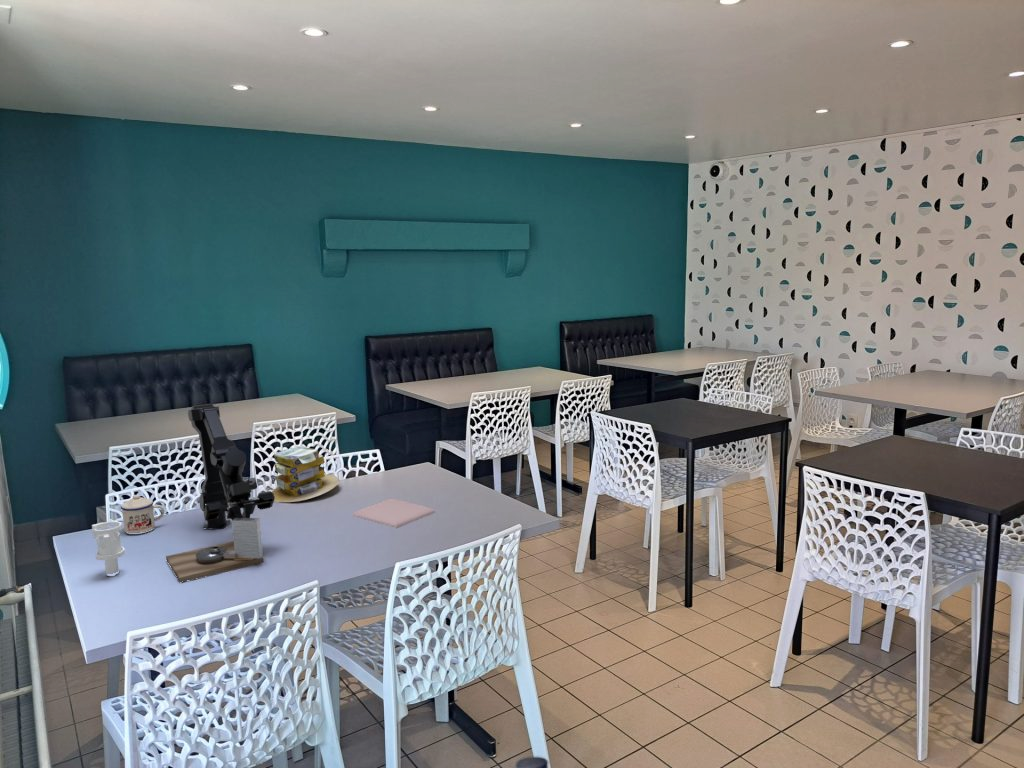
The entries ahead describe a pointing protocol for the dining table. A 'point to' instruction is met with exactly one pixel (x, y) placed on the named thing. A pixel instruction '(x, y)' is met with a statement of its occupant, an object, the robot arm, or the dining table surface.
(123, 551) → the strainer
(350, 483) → the dining table surface
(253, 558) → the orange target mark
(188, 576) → the walnut stand plate
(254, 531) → the lever
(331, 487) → the stacked boxes on plate
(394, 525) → the panel
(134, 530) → the teacup with lid
